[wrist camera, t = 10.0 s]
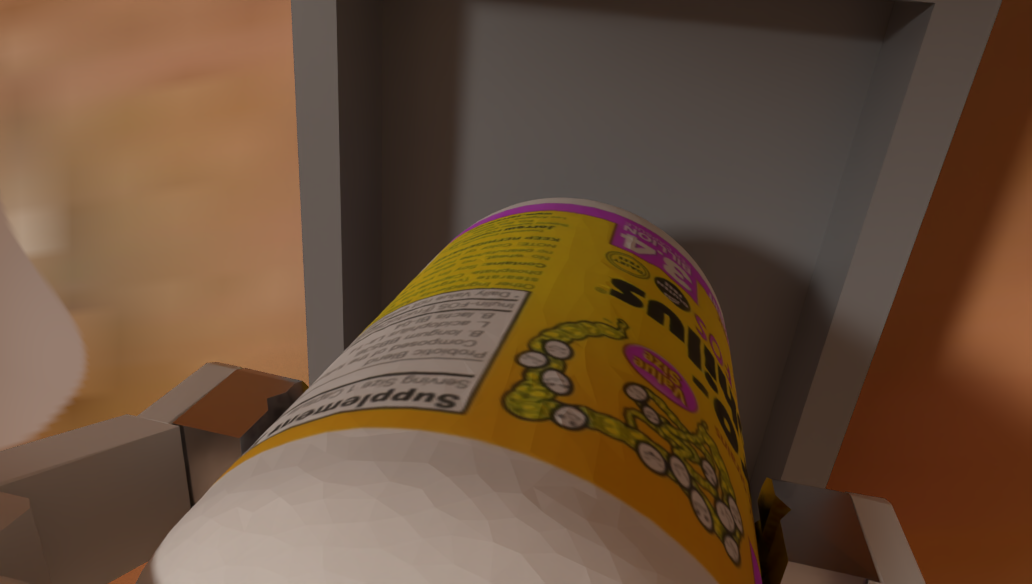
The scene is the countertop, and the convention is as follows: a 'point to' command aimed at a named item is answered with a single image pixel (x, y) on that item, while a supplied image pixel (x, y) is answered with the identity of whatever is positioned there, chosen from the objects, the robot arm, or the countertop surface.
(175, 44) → the countertop surface
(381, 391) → the supplement bottle
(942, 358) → the countertop surface
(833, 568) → the robot arm
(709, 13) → the tray
